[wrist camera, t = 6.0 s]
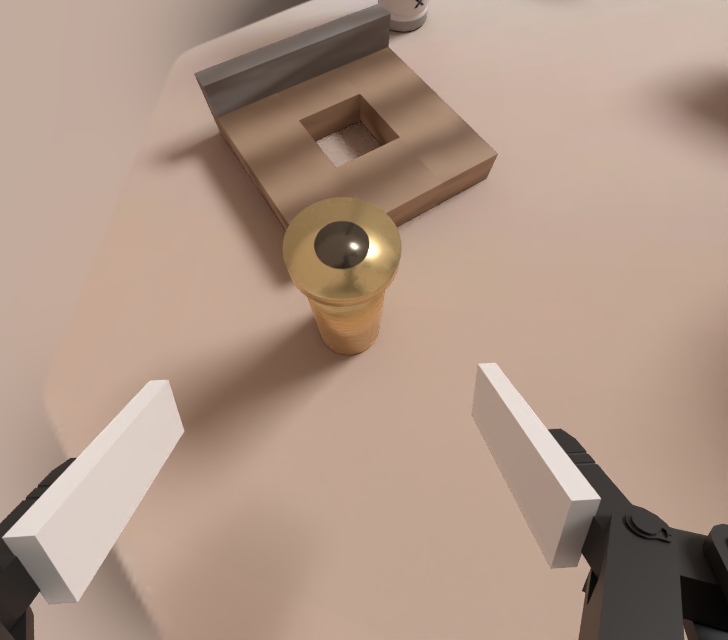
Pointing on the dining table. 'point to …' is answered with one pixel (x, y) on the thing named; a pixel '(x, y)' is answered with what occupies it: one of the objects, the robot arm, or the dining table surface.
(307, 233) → the brass flanged cylinder
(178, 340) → the dining table surface
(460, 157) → the jig
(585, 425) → the dining table surface
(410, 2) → the travel mug
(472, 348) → the dining table surface
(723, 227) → the dining table surface
